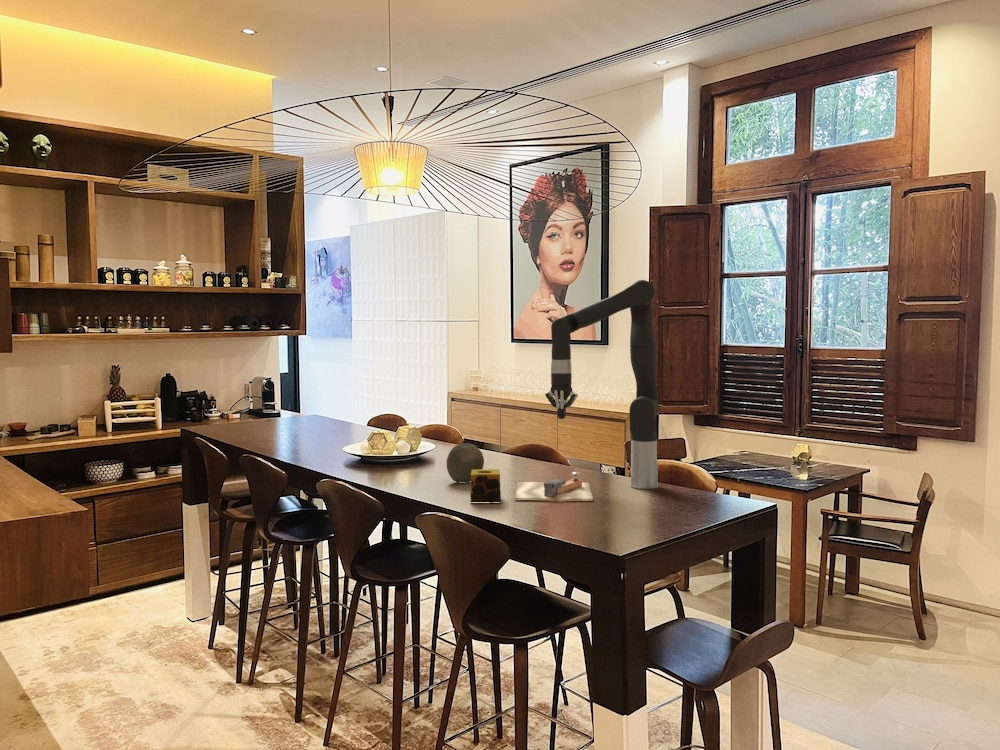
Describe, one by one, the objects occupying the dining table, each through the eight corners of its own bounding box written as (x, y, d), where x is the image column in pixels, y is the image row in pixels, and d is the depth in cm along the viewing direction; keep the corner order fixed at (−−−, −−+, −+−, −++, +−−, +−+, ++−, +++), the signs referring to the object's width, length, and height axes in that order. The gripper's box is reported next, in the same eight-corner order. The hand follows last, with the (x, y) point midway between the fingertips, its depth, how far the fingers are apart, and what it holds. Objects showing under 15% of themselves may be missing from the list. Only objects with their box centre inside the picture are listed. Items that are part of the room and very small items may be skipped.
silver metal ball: (580, 479, 277) (580, 471, 277) (580, 480, 273) (580, 473, 273) (570, 479, 277) (570, 471, 277) (571, 480, 274) (571, 473, 273)
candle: (500, 504, 252) (500, 474, 252) (470, 504, 252) (470, 474, 252) (500, 497, 262) (500, 468, 262) (471, 497, 262) (471, 469, 262)
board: (588, 485, 283) (588, 482, 283) (593, 501, 255) (593, 498, 255) (518, 484, 285) (518, 482, 285) (515, 500, 257) (515, 498, 257)
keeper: (555, 491, 267) (555, 478, 267) (565, 492, 265) (565, 480, 264) (543, 496, 260) (543, 482, 260) (553, 497, 258) (553, 484, 257)
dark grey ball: (444, 486, 281) (444, 446, 280) (448, 479, 295) (448, 441, 294) (483, 487, 280) (483, 446, 280) (485, 479, 295) (484, 441, 294)
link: (573, 484, 278) (573, 478, 278) (584, 485, 276) (584, 479, 276) (548, 492, 264) (548, 486, 264) (559, 493, 261) (559, 488, 261)
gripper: (582, 371, 281) (582, 418, 282) (550, 371, 288) (550, 417, 289) (572, 372, 274) (572, 420, 275) (540, 372, 282) (540, 418, 282)
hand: (561, 418), depth 282 cm, fingers closed
